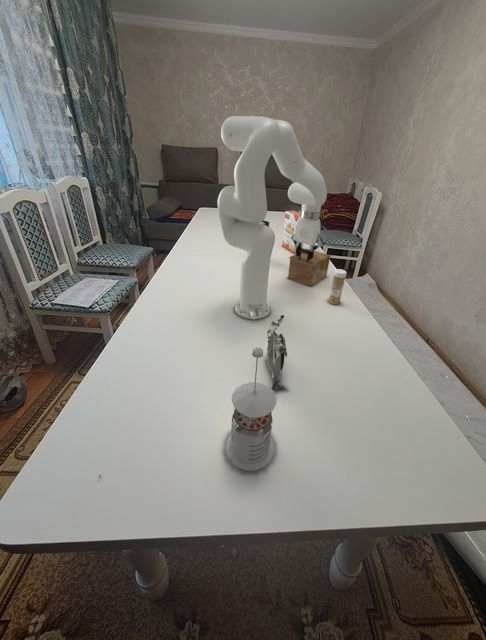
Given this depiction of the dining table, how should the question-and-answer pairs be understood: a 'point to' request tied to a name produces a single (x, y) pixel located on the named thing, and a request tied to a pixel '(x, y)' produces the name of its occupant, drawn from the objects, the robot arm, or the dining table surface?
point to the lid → (303, 256)
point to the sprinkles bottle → (337, 286)
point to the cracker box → (290, 230)
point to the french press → (252, 424)
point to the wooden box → (307, 272)
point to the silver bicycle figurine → (276, 353)
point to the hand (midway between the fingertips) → (303, 257)
